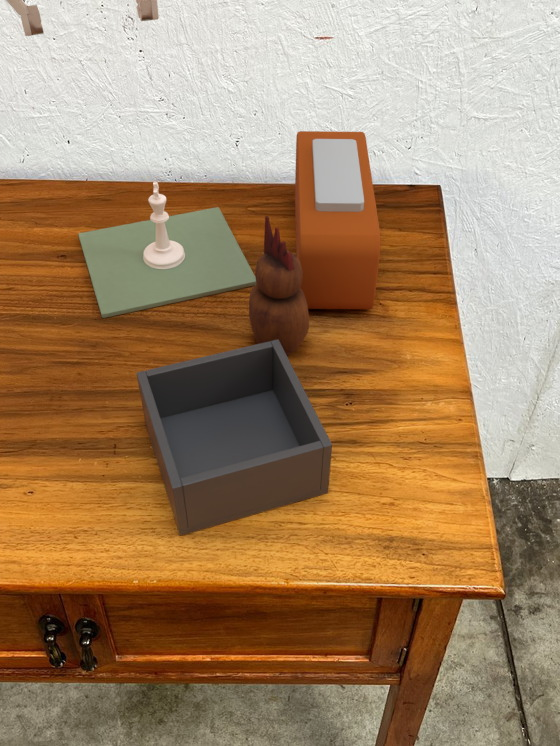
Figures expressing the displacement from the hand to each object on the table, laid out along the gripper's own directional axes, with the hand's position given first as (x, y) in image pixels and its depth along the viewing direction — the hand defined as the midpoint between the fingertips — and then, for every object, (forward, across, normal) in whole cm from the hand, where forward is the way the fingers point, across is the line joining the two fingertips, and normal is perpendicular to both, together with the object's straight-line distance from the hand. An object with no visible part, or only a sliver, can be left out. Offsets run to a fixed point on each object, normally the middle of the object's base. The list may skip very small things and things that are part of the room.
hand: (92, 25), depth 64 cm
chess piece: (+31, +5, +8) cm, 32 cm away
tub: (+31, +4, -23) cm, 39 cm away
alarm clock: (+31, +24, +3) cm, 40 cm away
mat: (+31, +5, +8) cm, 32 cm away
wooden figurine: (+31, +13, -10) cm, 35 cm away
